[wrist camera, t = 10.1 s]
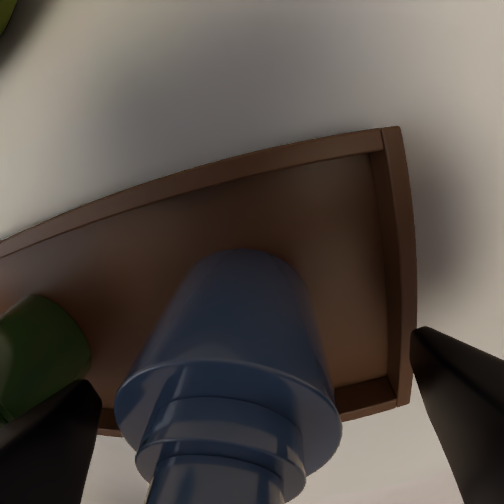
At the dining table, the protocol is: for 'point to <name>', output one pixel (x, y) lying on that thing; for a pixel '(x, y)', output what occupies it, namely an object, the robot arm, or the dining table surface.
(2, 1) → the apple
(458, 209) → the dining table surface
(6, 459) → the robot arm
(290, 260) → the tray
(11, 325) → the green bottle
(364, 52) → the dining table surface
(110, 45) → the dining table surface
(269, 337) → the blue bottle
